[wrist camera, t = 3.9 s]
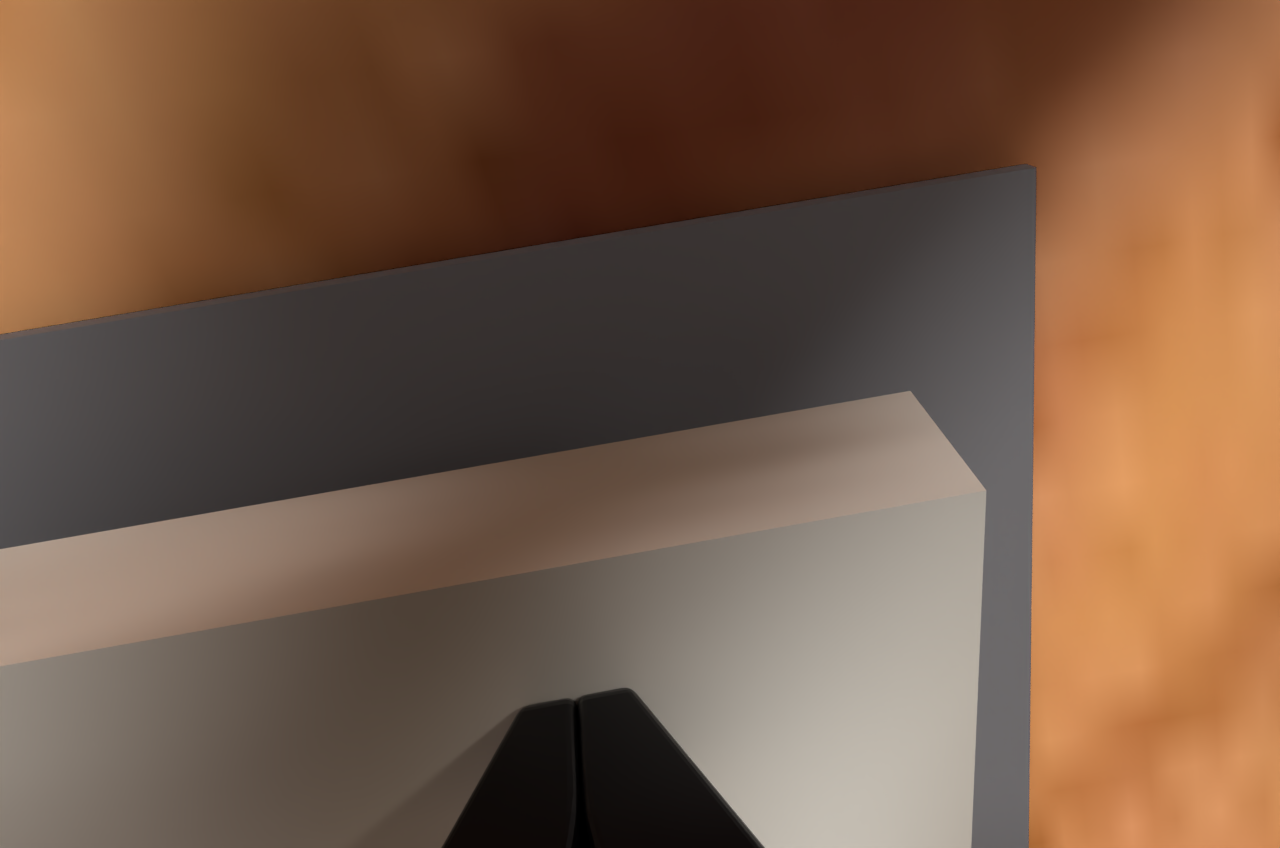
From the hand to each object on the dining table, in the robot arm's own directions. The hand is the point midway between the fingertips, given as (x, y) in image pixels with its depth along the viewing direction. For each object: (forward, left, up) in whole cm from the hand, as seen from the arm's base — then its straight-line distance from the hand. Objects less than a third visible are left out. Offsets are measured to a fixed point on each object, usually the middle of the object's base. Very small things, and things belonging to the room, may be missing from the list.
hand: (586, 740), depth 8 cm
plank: (+1, +3, -2) cm, 3 cm away
